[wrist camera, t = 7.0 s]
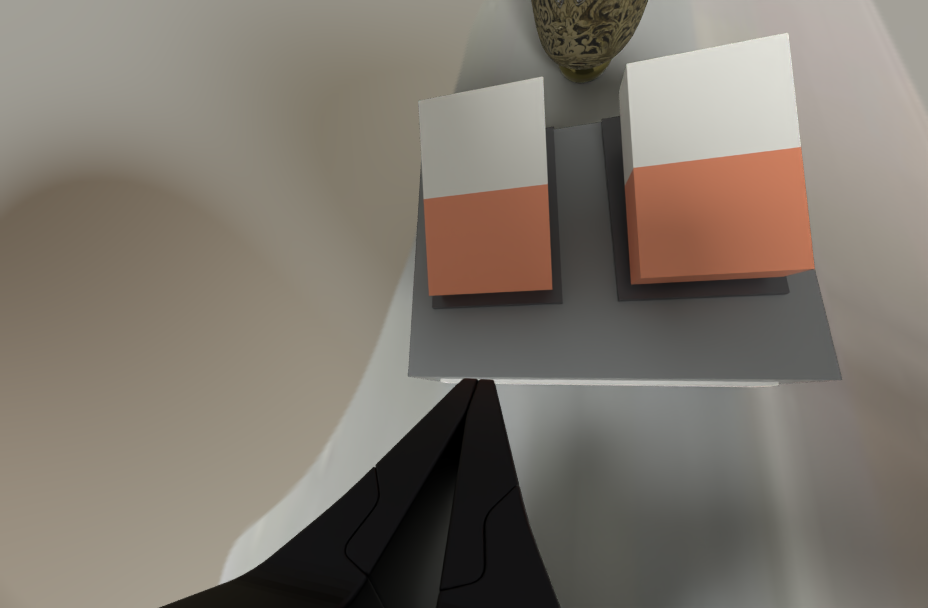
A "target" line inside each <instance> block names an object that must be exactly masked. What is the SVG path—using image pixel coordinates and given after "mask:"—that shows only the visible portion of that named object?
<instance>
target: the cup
mask: <svg viewBox="0 0 928 608" xmlns="http://www.w3.org/2000/svg"><path fill="white" fill-rule="evenodd" d="M531 2H532V7H533V13H534V18H535V23H536V28H537V32H538V35H539V38H540V41H541V44H542V46H543V48H544V50H545V52H546V53H547V54H548V56H549V57H550V58H551V59H552V60H553V61H554V62H556V63H557V64H558V65H559V68H560V70H561V72H562V74H563V75H564V77H565V78H567V79H568V80H570V81H572V82H577V83H584V82H589V81H592V80H594V79H596V78H597V77H599V76H600V75H601V74H602V73H603V72H604V71H605V70H606V68H607V67H608V65H609V63H610V62H611V59H612V58H613V57H614V56H616V55H617V54H618V53H619V52H620V51H621V50H622V49H623V48H624V47H625V46H626V44H627V43H628V42H629V40H630V39H631V37H632V36H633V34H634V32H635V30H636V28H637V26H638V24H639V22H640V20H641V18H642V15H643V13H644V10H645V7H646V5H647V2H648V0H531Z"/></svg>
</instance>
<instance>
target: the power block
mask: <svg viewBox="0 0 928 608" xmlns="http://www.w3.org/2000/svg"><path fill="white" fill-rule="evenodd" d="M545 131H546V154H547V177H548V200H549V223H550V246H551V269H552V290H533V291H514V292H494V293H474V294H455V295H435V296H429V288H428V270H427V252H426V234H425V215H424V197H423V179H422V161H421V174H420V191H419V207H418V222H417V239H416V255H415V271H414V287H413V304H412V320H411V336H410V352H409V369H408V377H414V378H421V379H427V380H434V381H440V382H444V383H459V382H460V381H461V380H462V379H464V378H474V379H478V380H480V379H491V380H494V382H495V384H543V385H622V386H700V387H769V386H779V384H791V383H806V382H821V381H835V380H842V377H841V373H840V369H839V365H838V361H837V357H836V353H835V349H834V345H833V341H832V337H831V333H830V329H829V324H828V320H827V316H826V312H825V308H824V304H823V300H822V296H821V292H820V288H819V284H818V280H817V276H816V272H815V269H812V270H808V271H804V272H800V273H796V274H792V275H788V276H784V277H768V278H749V279H729V280H710V281H690V282H671V283H652V284H632V285H631V275H630V260H629V244H628V229H627V213H626V198H625V182H624V167H623V151H622V135H621V120H620V116H618V117H612V118H605V119H602V122H598V123H591V124H585V125H579V126H572V127H566V128H560V129H554V127H549V128H545Z"/></svg>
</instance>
